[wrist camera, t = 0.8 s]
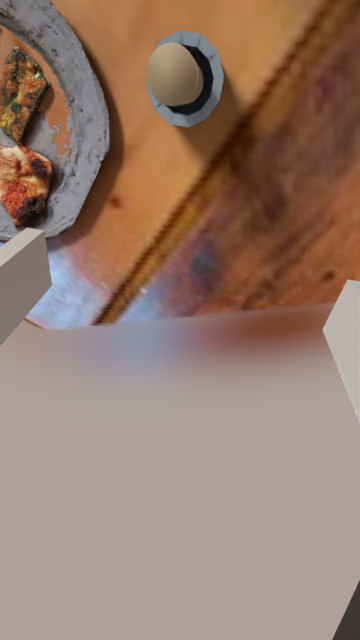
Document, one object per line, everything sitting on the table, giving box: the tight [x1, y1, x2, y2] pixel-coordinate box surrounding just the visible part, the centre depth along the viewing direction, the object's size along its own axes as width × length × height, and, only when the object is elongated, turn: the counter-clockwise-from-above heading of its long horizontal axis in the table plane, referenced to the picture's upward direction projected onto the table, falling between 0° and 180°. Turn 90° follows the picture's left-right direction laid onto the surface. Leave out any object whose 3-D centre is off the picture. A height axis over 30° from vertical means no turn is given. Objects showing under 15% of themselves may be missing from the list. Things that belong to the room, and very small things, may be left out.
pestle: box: [147, 43, 205, 106], centre depth 24 cm, size 3×3×13 cm
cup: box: [146, 30, 224, 127], centre depth 28 cm, size 6×6×5 cm
